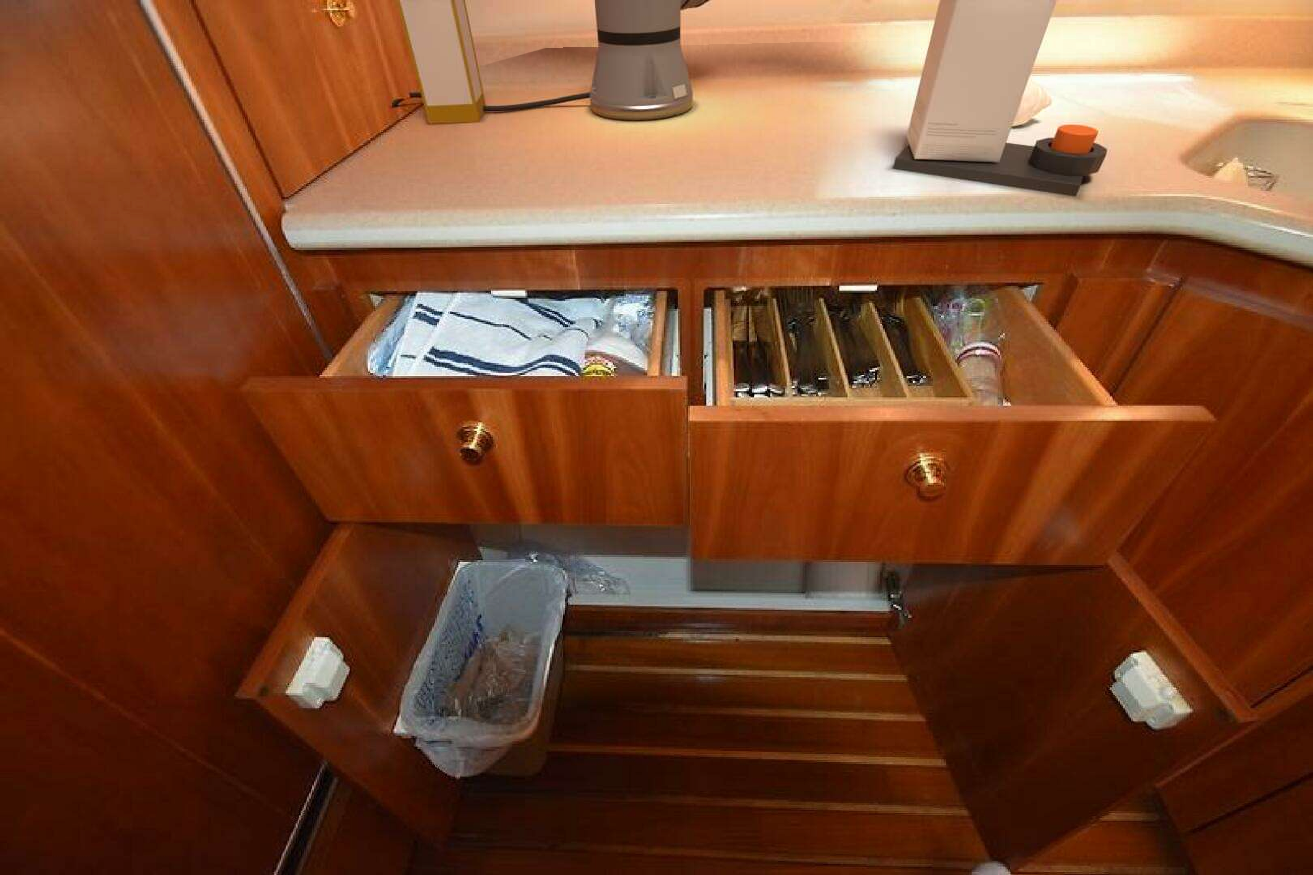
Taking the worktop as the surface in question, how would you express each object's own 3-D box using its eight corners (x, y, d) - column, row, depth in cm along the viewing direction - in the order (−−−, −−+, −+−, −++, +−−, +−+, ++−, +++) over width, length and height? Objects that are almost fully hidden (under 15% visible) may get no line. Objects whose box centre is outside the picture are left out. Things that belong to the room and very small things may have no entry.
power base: (892, 169, 65) (899, 140, 63) (916, 142, 72) (923, 115, 70) (1089, 199, 58) (1104, 167, 56) (1095, 165, 65) (1109, 136, 63)
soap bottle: (420, 135, 80) (355, -99, 64) (439, 110, 89) (387, -99, 73) (473, 132, 80) (422, -101, 64) (486, 108, 90) (444, -101, 74)
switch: (1047, 153, 60) (1056, 131, 59) (1051, 143, 63) (1059, 122, 61) (1087, 158, 59) (1097, 136, 58) (1089, 148, 61) (1099, 126, 60)
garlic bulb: (1054, 127, 75) (1074, 78, 72) (1015, 132, 74) (1032, 83, 70) (1024, 116, 79) (1041, 69, 75) (986, 120, 78) (1001, 73, 74)
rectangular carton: (1001, 164, 62) (1064, -12, 52) (912, 161, 64) (957, -11, 54) (985, 139, 69) (1038, -23, 59) (905, 136, 70) (943, -22, 60)
